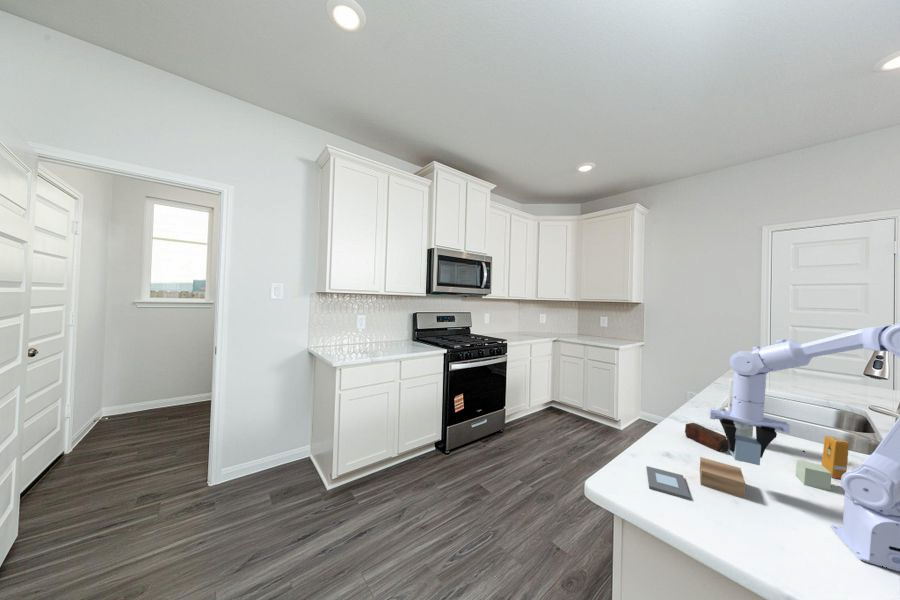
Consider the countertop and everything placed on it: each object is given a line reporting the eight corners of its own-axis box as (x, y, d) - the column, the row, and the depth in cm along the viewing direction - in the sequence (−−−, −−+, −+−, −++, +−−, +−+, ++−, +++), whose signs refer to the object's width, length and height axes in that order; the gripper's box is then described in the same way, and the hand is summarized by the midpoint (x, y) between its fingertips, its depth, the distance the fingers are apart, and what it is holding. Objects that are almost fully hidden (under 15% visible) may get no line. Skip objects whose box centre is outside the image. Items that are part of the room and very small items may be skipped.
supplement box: (848, 480, 81) (851, 442, 81) (832, 478, 82) (834, 441, 82) (835, 472, 84) (837, 436, 84) (819, 471, 85) (822, 435, 85)
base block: (744, 499, 73) (745, 483, 73) (700, 485, 78) (701, 470, 78) (739, 483, 79) (740, 468, 79) (699, 471, 84) (700, 457, 84)
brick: (684, 437, 104) (685, 423, 103) (692, 435, 105) (693, 422, 105) (720, 453, 94) (721, 438, 93) (729, 451, 95) (730, 436, 95)
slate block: (759, 465, 74) (761, 445, 74) (735, 459, 77) (736, 440, 76) (753, 456, 78) (754, 437, 78) (729, 451, 81) (731, 432, 80)
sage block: (830, 491, 77) (831, 473, 76) (804, 485, 79) (805, 467, 79) (820, 481, 80) (821, 464, 80) (795, 476, 83) (796, 459, 82)
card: (690, 499, 72) (690, 497, 72) (649, 488, 76) (649, 485, 76) (682, 477, 81) (682, 474, 81) (646, 468, 84) (646, 465, 84)
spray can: (751, 439, 103) (755, 380, 102) (753, 447, 98) (757, 384, 97) (725, 433, 107) (728, 376, 106) (726, 440, 102) (729, 380, 101)
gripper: (782, 400, 77) (778, 453, 77) (707, 389, 84) (704, 438, 84) (795, 409, 70) (791, 467, 71) (713, 397, 78) (710, 449, 78)
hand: (744, 452), depth 77 cm, fingers closed on slate block, 4 cm apart
